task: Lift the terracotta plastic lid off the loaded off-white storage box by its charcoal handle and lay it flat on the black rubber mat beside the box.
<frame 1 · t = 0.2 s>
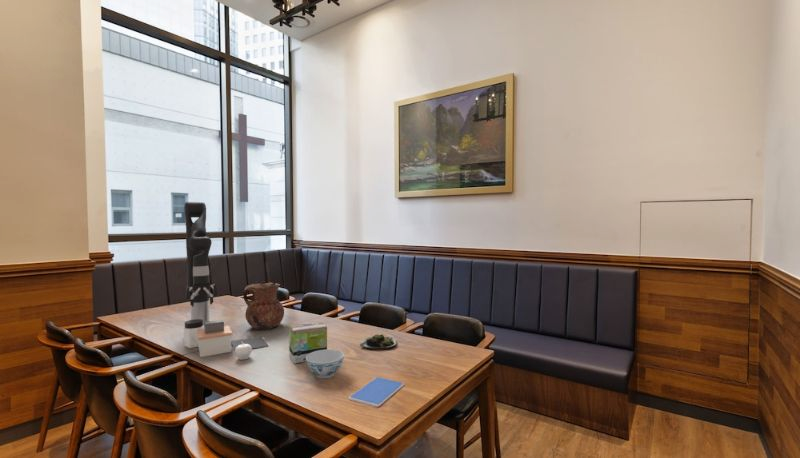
hand: (201, 305, 196), 18 cm above the table, tool pointing down, fingers open, 8 cm apart
tea box: (308, 358, 167), on the table
mat: (249, 344, 186), on the table
storage box: (214, 350, 178), on the table
jug: (265, 326, 217), on the table
lid: (214, 333, 178), point 8 cm above the table, touching storage box
chinaware: (325, 375, 149), on the table
plain white apple: (243, 358, 167), on the table
tablet computer: (377, 393, 134), on the table
salad plate: (378, 345, 184), on the table
jar: (194, 345, 186), on the table
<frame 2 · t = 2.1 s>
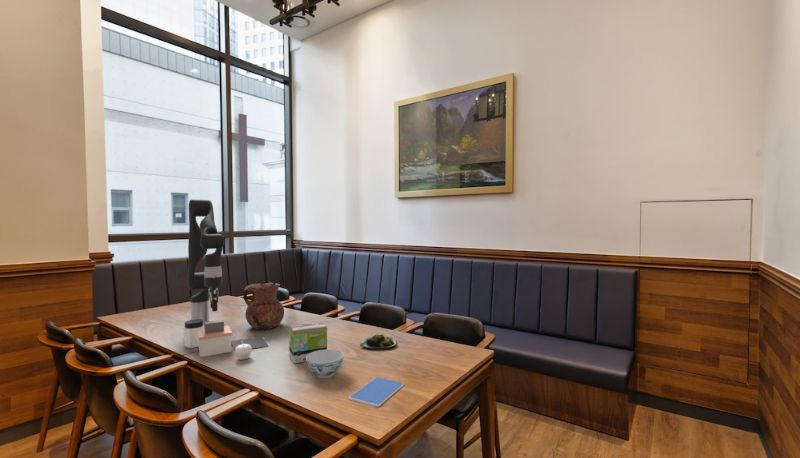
hand: (214, 309, 178), 20 cm above the table, tool pointing down, fingers open, 8 cm apart
nothing on the table moved.
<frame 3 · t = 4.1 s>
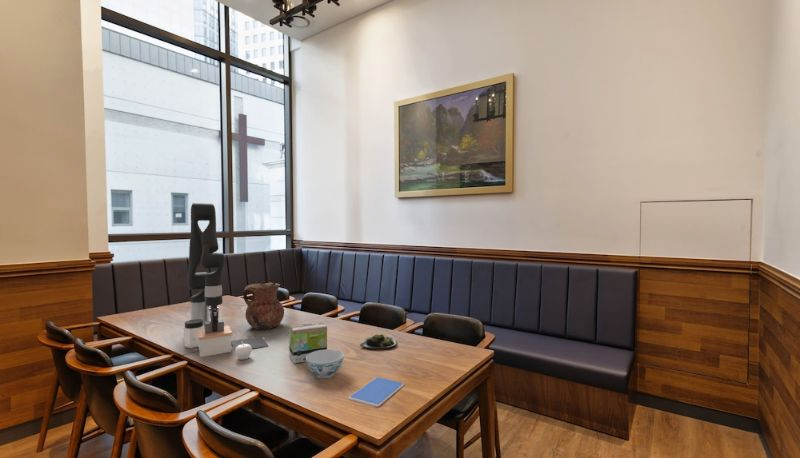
hand: (214, 330, 178), 10 cm above the table, tool pointing down, fingers closed on lid, 4 cm apart
lid: (214, 333, 178), point 8 cm above the table, touching gripper, storage box
everything else where it was.
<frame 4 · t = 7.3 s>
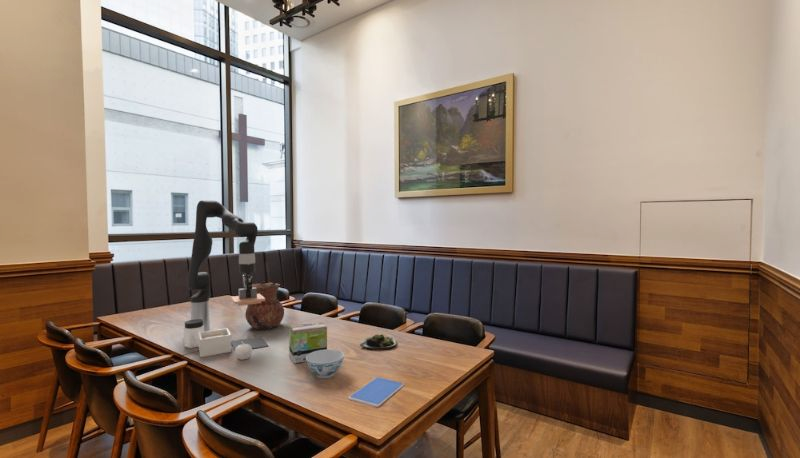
hand: (247, 296, 185), 24 cm above the table, tool pointing down, fingers closed on lid, 4 cm apart
lid: (247, 299, 185), point 22 cm above the table, touching gripper
everything else where it was.
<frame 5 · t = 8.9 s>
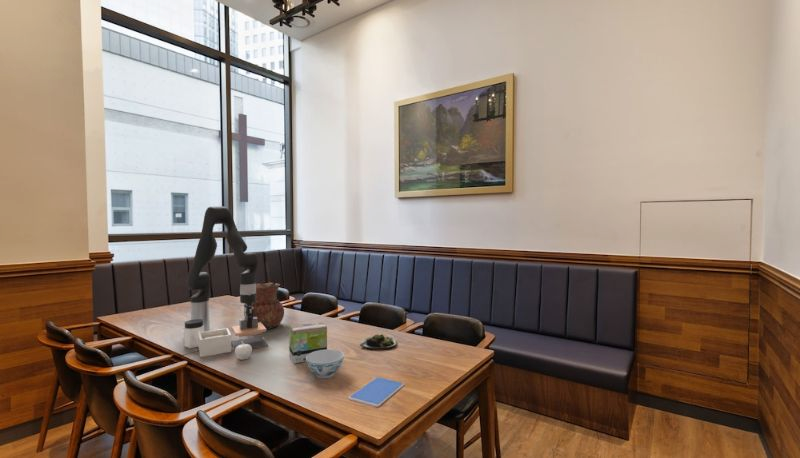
hand: (248, 326, 186), 9 cm above the table, tool pointing down, fingers closed on lid, 4 cm apart
lid: (248, 329, 186), point 7 cm above the table, touching gripper
everything else where it was.
when the fingers open (5 cm above the table, at t = 10.5 s): lid drops 1 cm, resting on mat.
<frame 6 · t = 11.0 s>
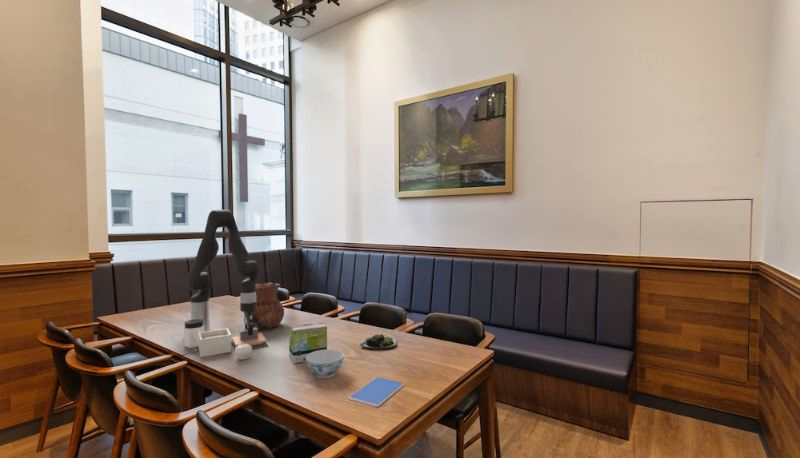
hand: (248, 333, 186), 6 cm above the table, tool pointing down, fingers open, 8 cm apart
lid: (249, 340, 186), point 2 cm above the table, touching mat
everything else where it was.
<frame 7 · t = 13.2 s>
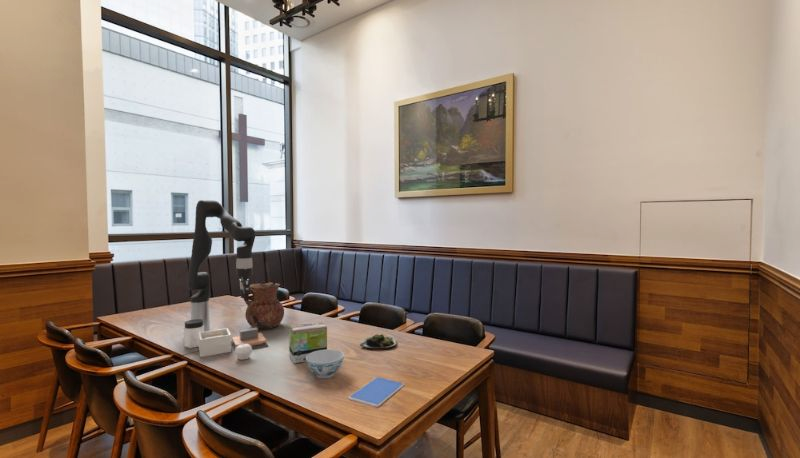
hand: (244, 299, 186), 23 cm above the table, tool pointing down, fingers open, 8 cm apart
nothing on the table moved.
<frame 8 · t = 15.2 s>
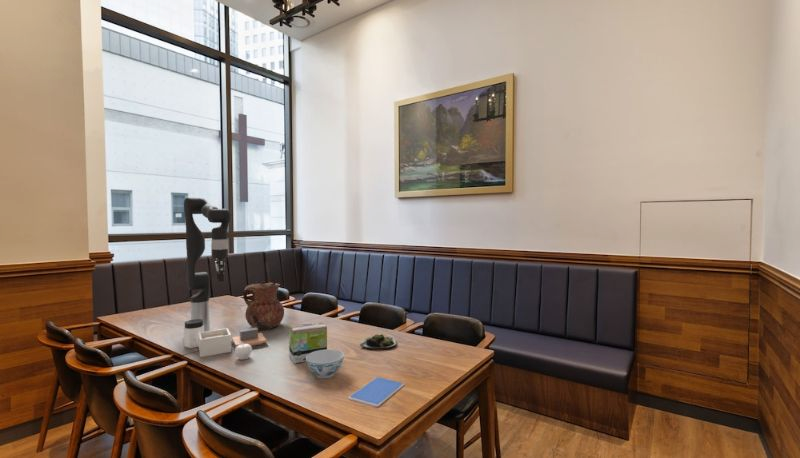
hand: (220, 280, 188), 32 cm above the table, tool pointing down, fingers open, 8 cm apart
nothing on the table moved.
at the end: lid inside the target area on the mat (0.1 cm from its centre), point 1.7 cm above the mat's base; lid tilted 0°; the gripper is holding nothing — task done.
